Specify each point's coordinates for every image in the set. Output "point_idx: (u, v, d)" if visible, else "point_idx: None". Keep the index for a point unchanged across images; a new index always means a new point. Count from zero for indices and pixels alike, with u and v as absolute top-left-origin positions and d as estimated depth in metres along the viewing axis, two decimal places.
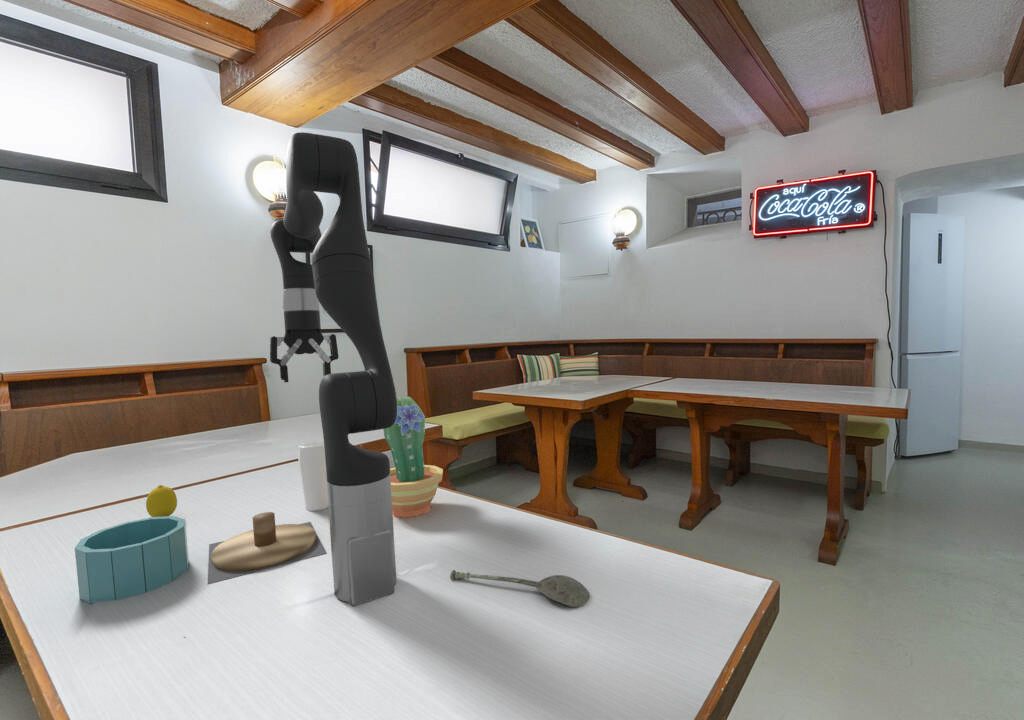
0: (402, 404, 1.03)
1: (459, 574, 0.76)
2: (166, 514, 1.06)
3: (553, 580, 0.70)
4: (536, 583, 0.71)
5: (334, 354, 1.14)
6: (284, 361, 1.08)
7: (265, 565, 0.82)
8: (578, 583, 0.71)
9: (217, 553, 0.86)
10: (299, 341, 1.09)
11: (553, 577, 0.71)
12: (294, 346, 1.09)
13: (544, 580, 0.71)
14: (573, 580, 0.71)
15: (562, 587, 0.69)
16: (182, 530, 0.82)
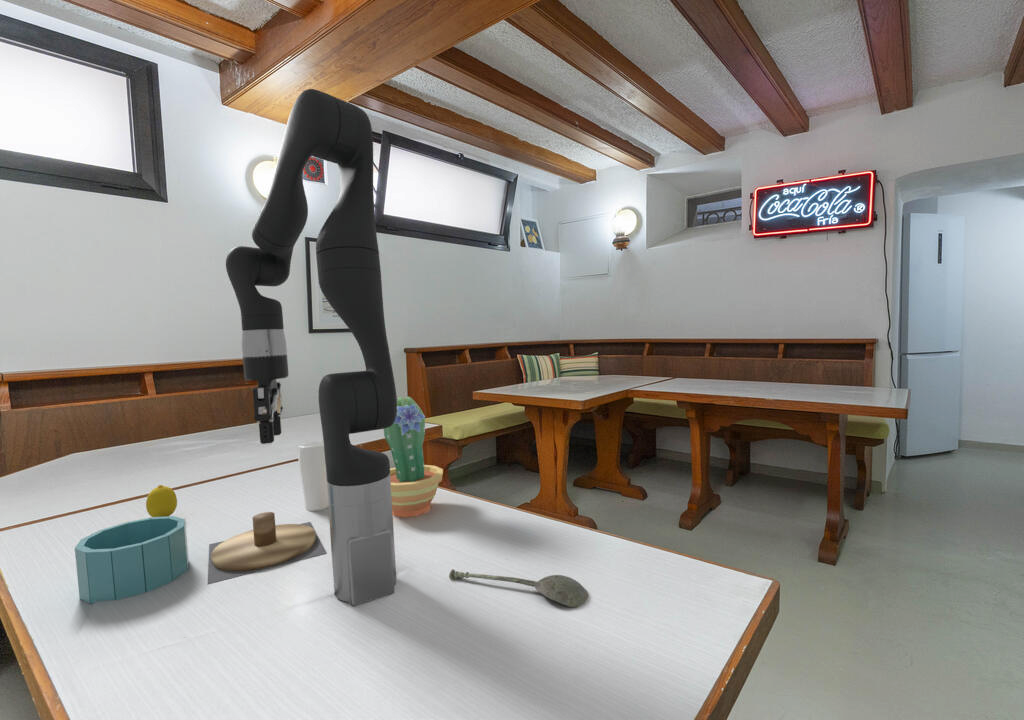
0: (402, 404, 1.03)
1: (458, 573, 0.76)
2: (166, 514, 1.06)
3: (552, 580, 0.70)
4: (535, 583, 0.72)
5: None
6: (272, 417, 0.89)
7: (265, 565, 0.82)
8: (577, 583, 0.71)
9: (217, 553, 0.86)
10: (278, 391, 0.92)
11: (552, 577, 0.71)
12: (276, 398, 0.91)
13: (543, 580, 0.71)
14: (572, 580, 0.71)
15: (561, 587, 0.69)
16: (182, 530, 0.82)
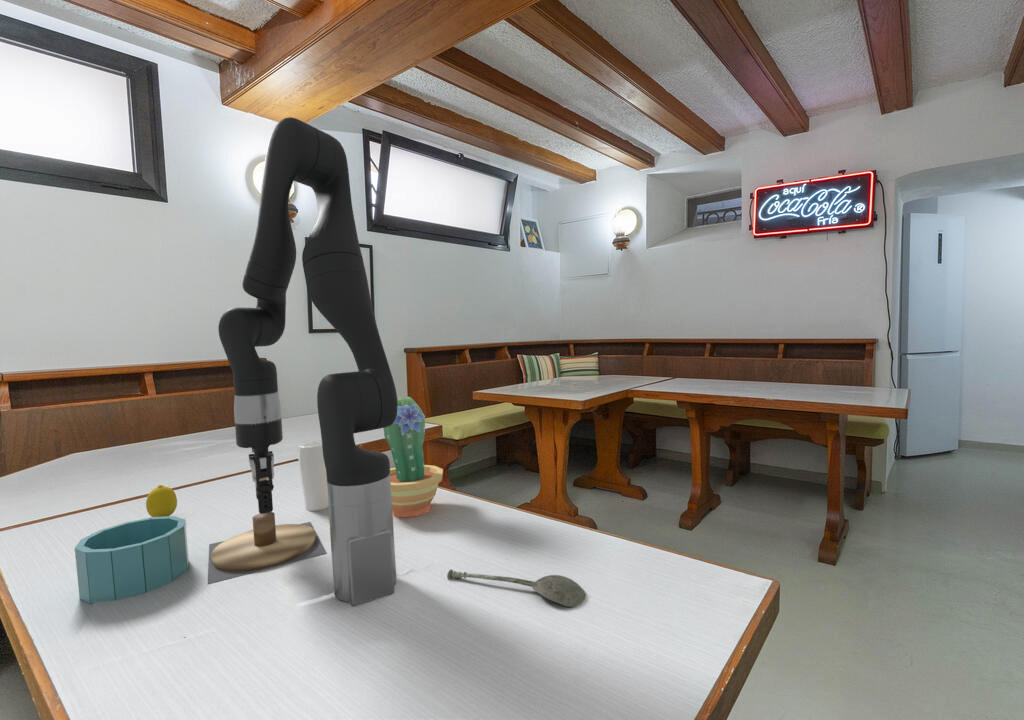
0: (402, 404, 1.03)
1: (456, 573, 0.76)
2: (166, 514, 1.06)
3: (549, 580, 0.70)
4: (532, 583, 0.72)
5: None
6: None
7: (265, 565, 0.82)
8: (574, 583, 0.71)
9: (217, 553, 0.86)
10: None
11: (549, 577, 0.71)
12: (272, 463, 0.88)
13: (540, 580, 0.71)
14: (569, 580, 0.71)
15: (558, 587, 0.69)
16: (182, 530, 0.82)
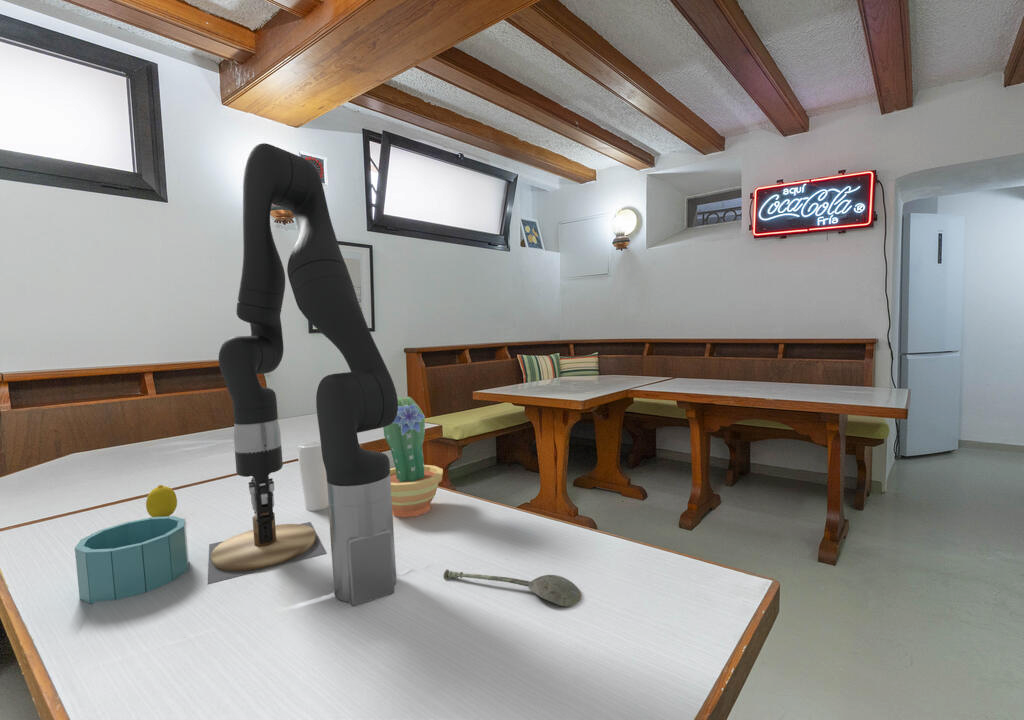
0: (402, 404, 1.03)
1: (452, 573, 0.76)
2: (166, 514, 1.06)
3: (545, 579, 0.71)
4: (528, 582, 0.72)
5: None
6: None
7: (265, 565, 0.82)
8: (570, 583, 0.71)
9: (217, 552, 0.86)
10: None
11: (545, 577, 0.72)
12: (272, 492, 0.88)
13: (536, 580, 0.71)
14: (565, 580, 0.71)
15: (554, 587, 0.69)
16: (182, 530, 0.82)
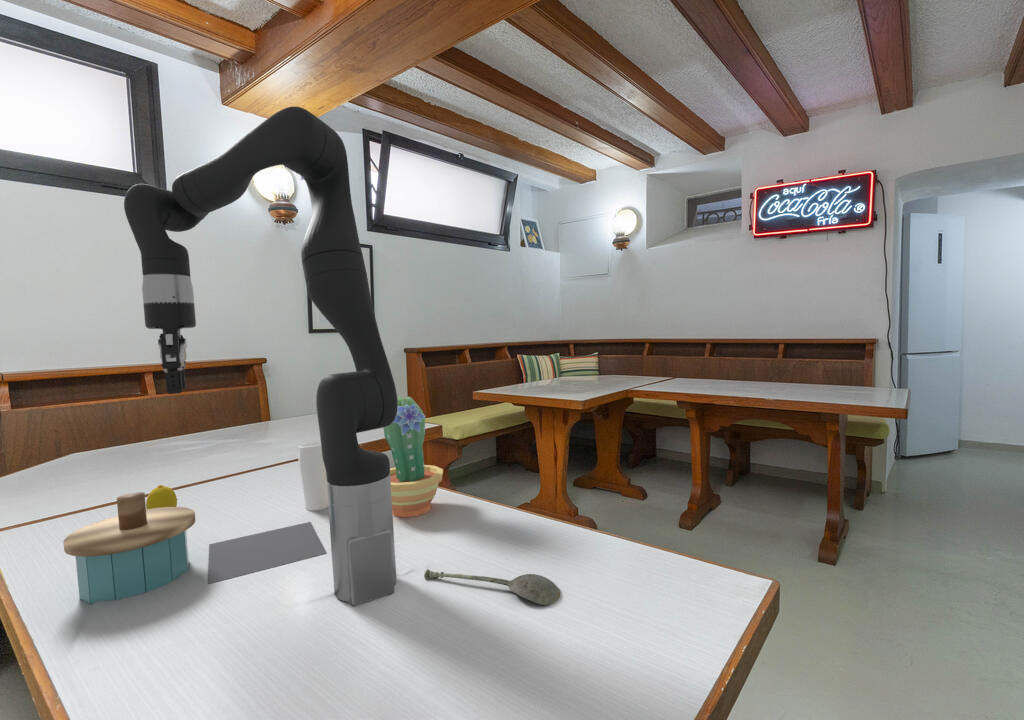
0: (402, 404, 1.03)
1: (433, 573, 0.77)
2: None
3: (525, 579, 0.71)
4: (508, 582, 0.72)
5: None
6: (181, 366, 0.85)
7: (119, 549, 0.72)
8: (549, 582, 0.72)
9: (73, 536, 0.76)
10: (185, 341, 0.88)
11: (525, 576, 0.72)
12: (183, 347, 0.87)
13: (516, 579, 0.72)
14: (545, 579, 0.72)
15: (533, 586, 0.70)
16: None
